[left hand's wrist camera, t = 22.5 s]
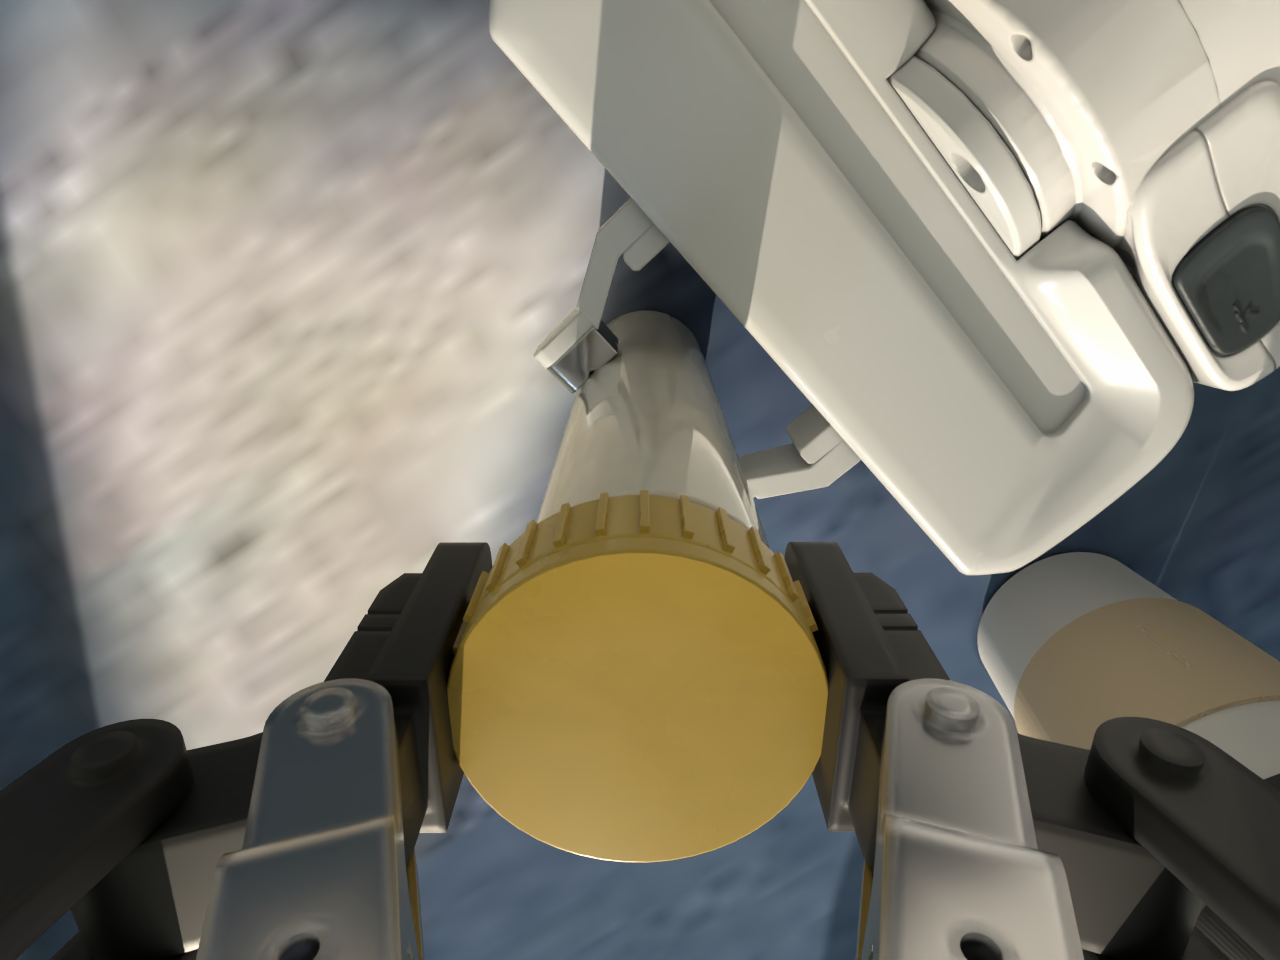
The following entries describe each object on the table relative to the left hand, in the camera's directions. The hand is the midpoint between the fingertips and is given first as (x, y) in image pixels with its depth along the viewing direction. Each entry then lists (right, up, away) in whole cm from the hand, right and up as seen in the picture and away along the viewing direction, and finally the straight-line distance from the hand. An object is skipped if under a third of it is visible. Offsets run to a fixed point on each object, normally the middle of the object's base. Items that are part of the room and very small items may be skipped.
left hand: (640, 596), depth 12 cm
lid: (0, -1, -2) cm, 3 cm away
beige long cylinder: (0, +6, +15) cm, 16 cm away
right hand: (0, +3, +10) cm, 10 cm away
